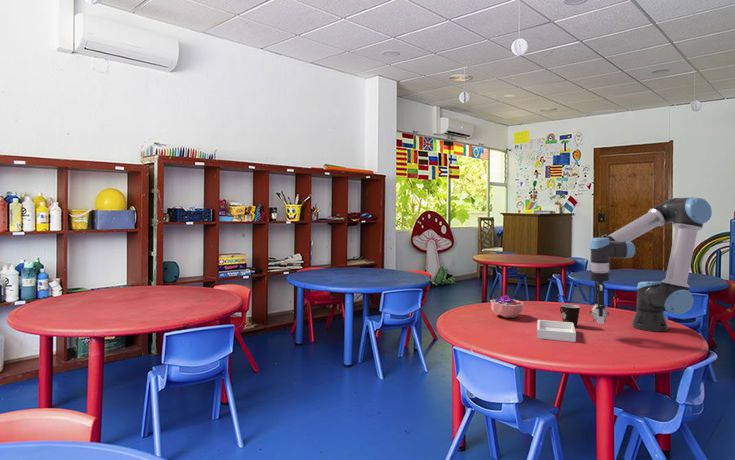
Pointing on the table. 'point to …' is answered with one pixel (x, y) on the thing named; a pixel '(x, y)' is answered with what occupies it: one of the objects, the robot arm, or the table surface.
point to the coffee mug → (570, 313)
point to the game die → (594, 312)
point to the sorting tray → (556, 330)
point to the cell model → (506, 306)
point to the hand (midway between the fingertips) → (599, 320)
